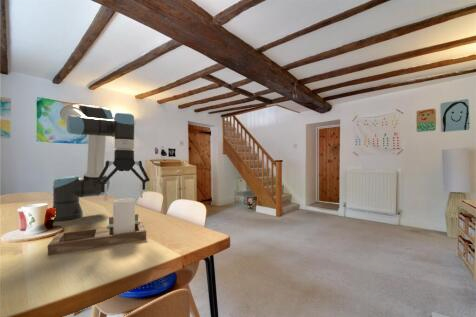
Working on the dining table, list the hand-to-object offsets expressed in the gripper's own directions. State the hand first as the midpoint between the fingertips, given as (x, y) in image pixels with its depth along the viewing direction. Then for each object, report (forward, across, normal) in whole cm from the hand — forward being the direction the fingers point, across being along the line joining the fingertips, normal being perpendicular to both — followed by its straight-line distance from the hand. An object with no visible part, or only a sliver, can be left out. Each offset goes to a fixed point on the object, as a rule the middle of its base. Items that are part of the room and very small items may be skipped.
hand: (124, 198), depth 94 cm
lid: (+13, 0, +11) cm, 17 cm away
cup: (+17, 0, -1) cm, 17 cm away
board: (+17, -8, +6) cm, 19 cm away
